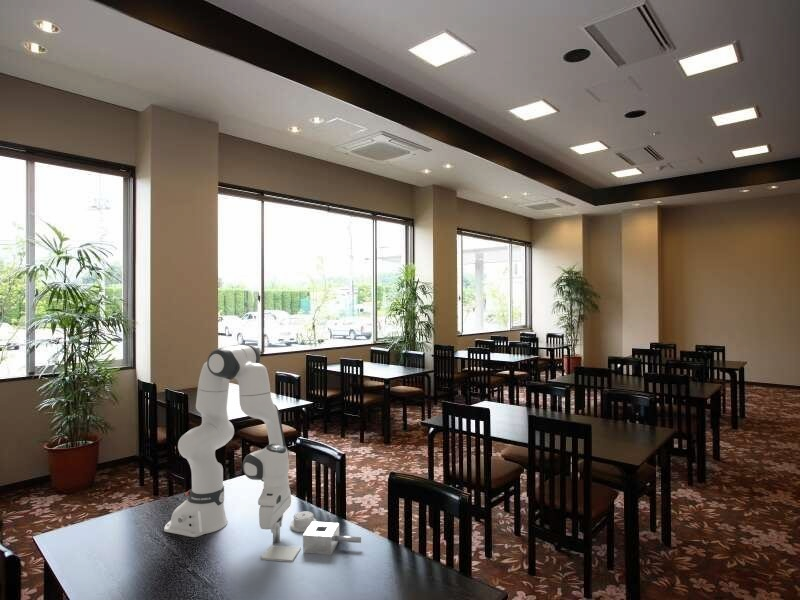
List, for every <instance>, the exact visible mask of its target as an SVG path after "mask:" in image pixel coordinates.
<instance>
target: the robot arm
mask: <svg viewBox="0 0 800 600" xmlns="http://www.w3.org/2000/svg"><path fill="white" fill-rule="evenodd" d="M206 360H207V361H205V362H204V363H203V365H202V368H201V370H200V375H199V378H198V384H197V392H196V401H195V402H196V403H195V409H196V411H197V412H198V413H200V415H201V416H200V417H201V424H200V425H199V426H195V427H193V428H191V429H189V430H188V431H187V432H185V433H184V434H182V435H181V437H179V439H178V442H177V449H178V452H179V454H180V455H181V457H182V458H184V459H186V460H187V463H188V465H189V467H190V472H191V489H189V490H188V491H187V492H185V496H184V497H187V499H186V500H185V501H183V502H182V503H181V504H180V505H178V506H177V507H176V508H175V509H174V510H173V511H172V514H171V518H170V520H169V521H168V522H167V523H166V524H165V526H164V527H163V532H165V533H170V534H175V535H176V534H177V535H181V536H185V537H191V538H198V537H200V536H203V535H205V534H210V533H214V532H217V531H220V530H222V529H223V528H225V526H227V524H228V518H227V516H226V515H227V514H226V510H225V504H224V503H225V502H224V501H225V485H224V468H223V465H222V463H220V462H218V460H217V458H216V450H218V449H220V448H222V447H224V446H226V444H228V443H229V441H231V440H232V439H233V437H234V435H235V428H234V425H233V423H232V422H231V421H230V420H229V416H228V408H227V406H228V397H229V387H230V381H231V380H233V379H235V380H236V381H237V383H238V391H239V392H238V393H239V395H238V397H239V407H240V410H241V411H242V413H244V414H245V416H248V417H250V418H253V419H257V420H260V421H262V422H263V423H264V425H265V427H266V431H267V437H268V445H266V446H265V447H264V448H261V449H258V450H255V451H252V452H251V453H249V454H246V456H245V457H244V458H243V462H242V471H243V473H244V475H245V476H246V477H247V478H248V479H249V480H254V481H260V480H262V481H263V488H262V491H261V494H260V496H259V498H258V500H257V505H258V506H259V507H258V508H259V510H258V519H259V520H258V521H259V528H260V529H261V530H270V533H271V534H273V533H276V532H277V527H276V523H277V521H278V519H279V518H280V517H281V521H280V528H281V527H282V524H283V523H282V522H283V518H284V514H285V512H286V511H288V509H289V508H290V507H291V504H292V495H291V488H290V480H289V473H290V472H289V471H290V452H289V450H288V447H287V444H286V441H285V435H284V431H283V430H284V429H283V425H282V419H281V415H280V411H279V409H278V407H277V405H276V404H275V403H274V402H273V400H272V399H273V398H272V395H271V384H270V377H269V373H268V370H267V367H266V366H265V365H263V364H262V363H260V362H261V354H260V351H259V349H258V348H257V347H255V346H253V345H251V344H234V345H230V346H225V347H219V348H216V349H215V350H212V352H210V353H209V355H208V357H207V359H206Z"/></svg>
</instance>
